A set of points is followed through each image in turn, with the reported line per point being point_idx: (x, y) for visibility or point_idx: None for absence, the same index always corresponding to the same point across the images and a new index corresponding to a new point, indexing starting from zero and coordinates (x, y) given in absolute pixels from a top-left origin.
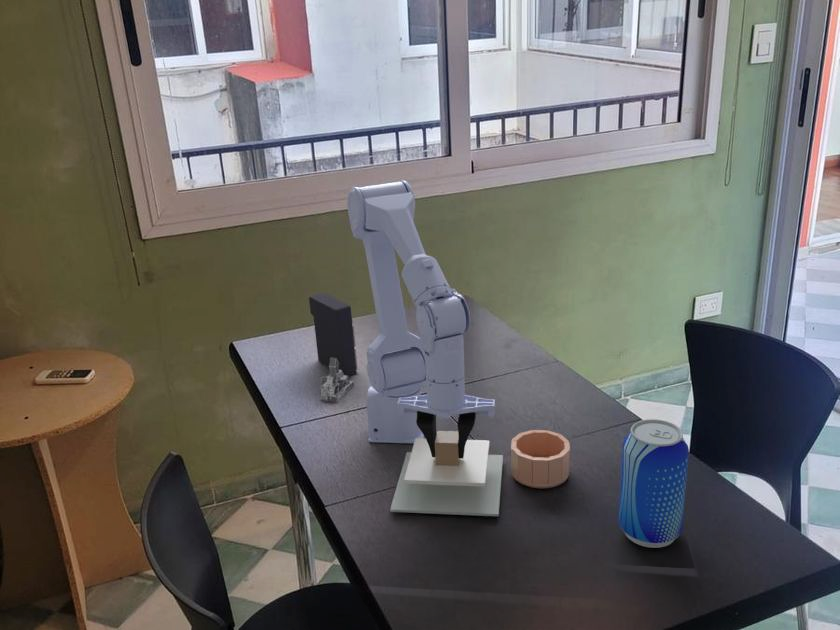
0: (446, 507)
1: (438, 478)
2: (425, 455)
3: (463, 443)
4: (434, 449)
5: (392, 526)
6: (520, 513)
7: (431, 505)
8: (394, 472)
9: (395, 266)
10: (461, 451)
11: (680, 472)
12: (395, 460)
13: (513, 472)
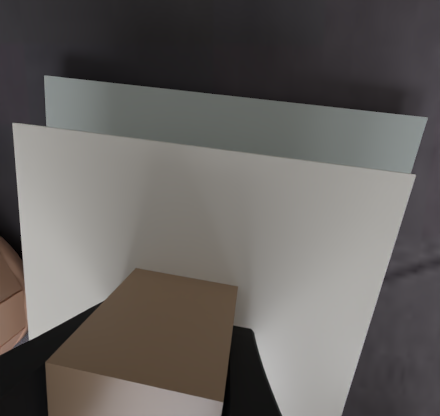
0: (212, 121)
1: (226, 175)
2: (283, 364)
3: (13, 356)
4: (234, 358)
5: (410, 53)
6: (7, 116)
7: (265, 135)
8: (372, 349)
9: None
10: (78, 320)
11: None
12: (363, 402)
13: (12, 278)
